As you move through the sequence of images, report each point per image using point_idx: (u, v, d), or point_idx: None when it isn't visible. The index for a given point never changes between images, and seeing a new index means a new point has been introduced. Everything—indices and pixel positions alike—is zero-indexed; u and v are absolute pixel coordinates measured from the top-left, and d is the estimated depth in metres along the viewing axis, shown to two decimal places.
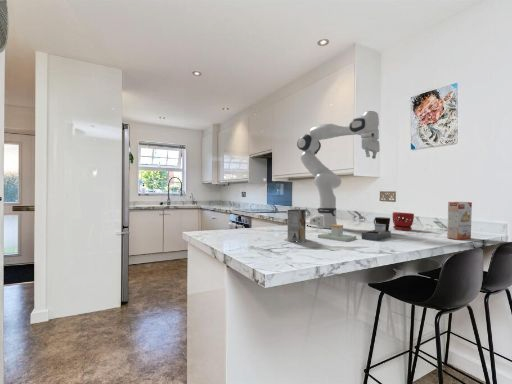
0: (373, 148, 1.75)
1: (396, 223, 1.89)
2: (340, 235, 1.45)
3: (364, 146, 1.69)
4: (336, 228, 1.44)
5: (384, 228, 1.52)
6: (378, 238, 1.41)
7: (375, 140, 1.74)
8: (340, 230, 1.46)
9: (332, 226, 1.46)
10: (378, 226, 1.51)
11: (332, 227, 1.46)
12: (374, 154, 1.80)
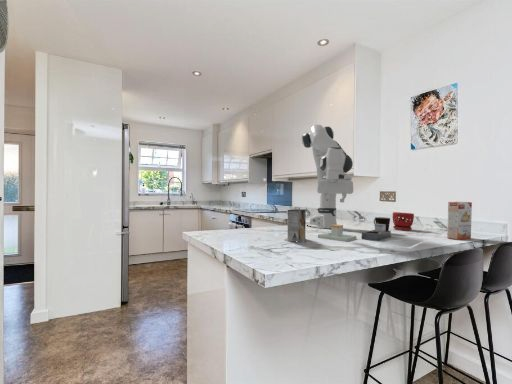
0: None
1: (396, 223, 1.89)
2: (340, 235, 1.45)
3: (351, 191, 1.40)
4: (336, 228, 1.44)
5: (384, 228, 1.52)
6: (378, 238, 1.41)
7: None
8: (340, 230, 1.46)
9: (332, 226, 1.46)
10: (378, 226, 1.51)
11: (332, 227, 1.46)
12: (326, 196, 1.52)
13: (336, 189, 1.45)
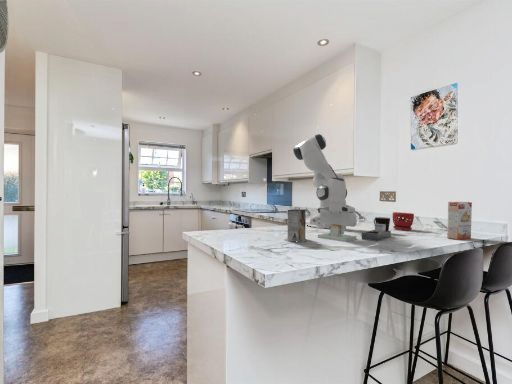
0: None
1: (396, 223, 1.89)
2: (340, 235, 1.45)
3: (355, 223, 1.40)
4: (336, 228, 1.44)
5: (384, 228, 1.52)
6: (378, 238, 1.41)
7: None
8: (340, 230, 1.46)
9: (332, 226, 1.46)
10: (378, 226, 1.51)
11: (332, 227, 1.46)
12: None
13: (339, 221, 1.44)
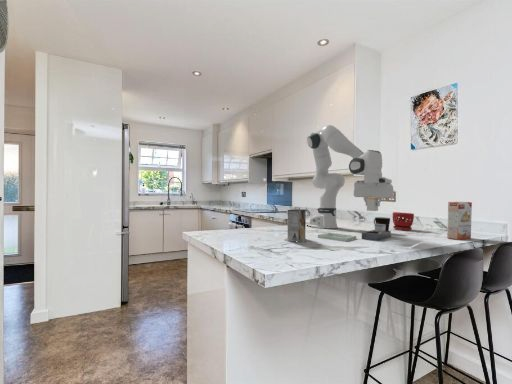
0: None
1: (396, 223, 1.89)
2: (376, 207, 1.45)
3: (392, 195, 1.39)
4: (372, 200, 1.44)
5: (384, 228, 1.52)
6: (378, 238, 1.41)
7: None
8: (376, 202, 1.45)
9: (368, 198, 1.45)
10: (378, 226, 1.51)
11: (368, 199, 1.45)
12: (366, 200, 1.49)
13: (376, 193, 1.43)
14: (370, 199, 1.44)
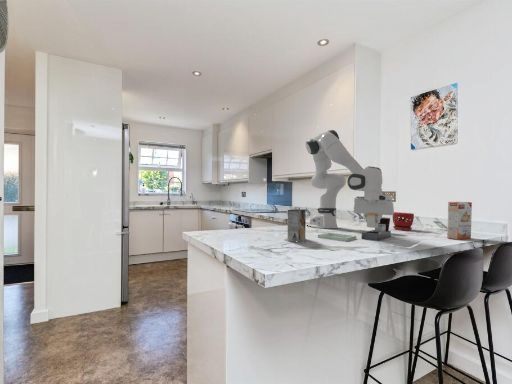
0: None
1: (396, 223, 1.89)
2: (376, 224, 1.45)
3: (392, 212, 1.39)
4: (372, 217, 1.44)
5: (384, 228, 1.52)
6: (378, 238, 1.41)
7: None
8: (376, 219, 1.45)
9: (368, 215, 1.45)
10: (378, 226, 1.51)
11: (368, 216, 1.45)
12: (366, 217, 1.49)
13: (376, 210, 1.43)
14: (370, 216, 1.44)
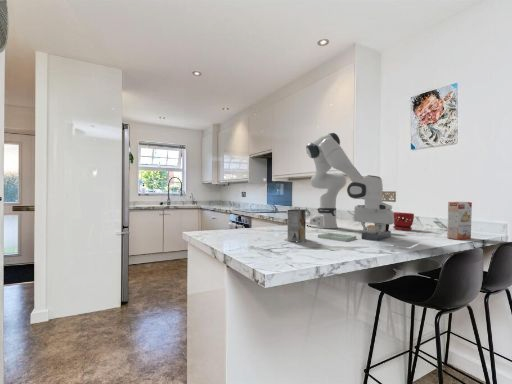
0: None
1: (396, 223, 1.89)
2: None
3: (393, 221, 1.39)
4: (373, 229, 1.44)
5: (384, 228, 1.52)
6: (378, 238, 1.41)
7: None
8: (377, 230, 1.45)
9: (368, 227, 1.45)
10: None
11: (368, 228, 1.45)
12: (364, 225, 1.50)
13: (376, 219, 1.43)
14: (370, 228, 1.44)
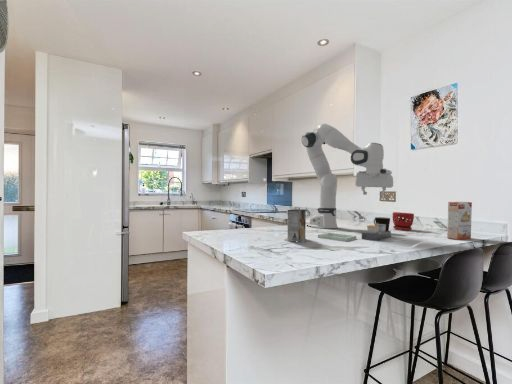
0: None
1: (396, 223, 1.89)
2: None
3: (392, 185, 1.50)
4: (373, 229, 1.44)
5: (384, 228, 1.52)
6: (378, 238, 1.41)
7: None
8: (377, 230, 1.45)
9: (368, 227, 1.45)
10: None
11: (368, 228, 1.45)
12: (364, 190, 1.61)
13: (377, 183, 1.54)
14: (370, 228, 1.44)
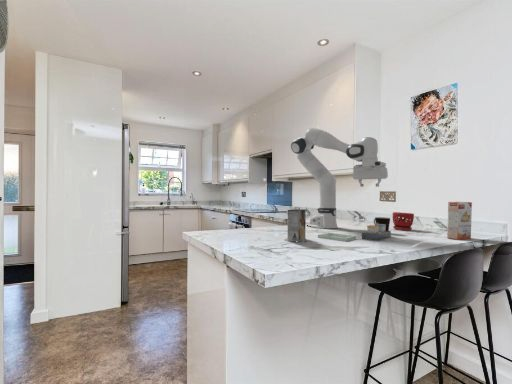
0: None
1: (396, 223, 1.89)
2: None
3: (386, 176, 1.60)
4: (373, 229, 1.44)
5: (384, 228, 1.52)
6: (378, 238, 1.41)
7: None
8: (377, 230, 1.45)
9: (368, 227, 1.45)
10: None
11: (368, 228, 1.45)
12: (361, 182, 1.71)
13: (372, 175, 1.64)
14: (370, 228, 1.44)
